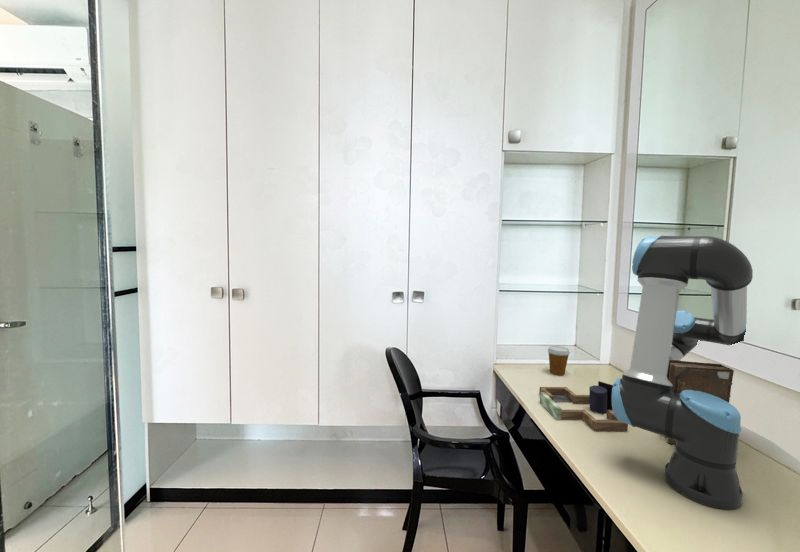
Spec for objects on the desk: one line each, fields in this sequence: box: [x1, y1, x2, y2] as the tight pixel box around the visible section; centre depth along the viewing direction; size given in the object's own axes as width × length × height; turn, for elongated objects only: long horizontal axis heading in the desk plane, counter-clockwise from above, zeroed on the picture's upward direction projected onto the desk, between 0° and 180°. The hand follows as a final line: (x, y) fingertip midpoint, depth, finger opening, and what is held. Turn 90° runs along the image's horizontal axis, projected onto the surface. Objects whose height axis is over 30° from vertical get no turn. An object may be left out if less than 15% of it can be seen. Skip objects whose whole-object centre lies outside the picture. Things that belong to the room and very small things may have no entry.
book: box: [666, 360, 735, 445], centre depth 112 cm, size 17×7×25 cm, turn 75°
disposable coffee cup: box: [547, 345, 571, 377], centre depth 171 cm, size 10×10×12 cm
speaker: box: [588, 380, 613, 414], centre depth 134 cm, size 8×6×10 cm
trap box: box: [538, 386, 629, 432], centre depth 133 cm, size 29×22×4 cm
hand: (616, 401), depth 134 cm, fingers closed
